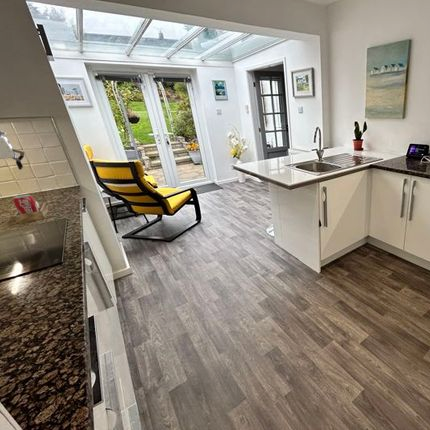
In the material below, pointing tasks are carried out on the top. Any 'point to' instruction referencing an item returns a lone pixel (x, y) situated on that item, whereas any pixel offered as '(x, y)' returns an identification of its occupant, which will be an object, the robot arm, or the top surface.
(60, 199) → the top surface
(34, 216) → the rack
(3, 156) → the robot arm
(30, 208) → the soda can
